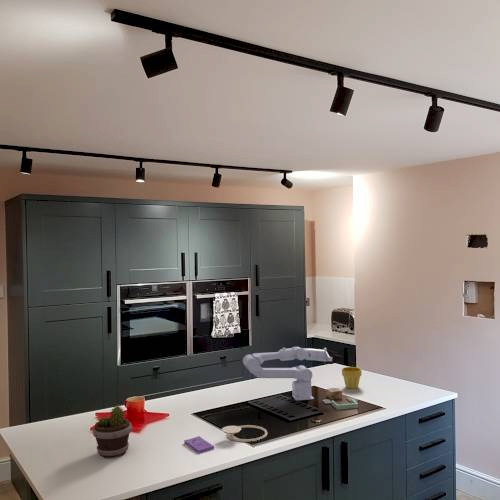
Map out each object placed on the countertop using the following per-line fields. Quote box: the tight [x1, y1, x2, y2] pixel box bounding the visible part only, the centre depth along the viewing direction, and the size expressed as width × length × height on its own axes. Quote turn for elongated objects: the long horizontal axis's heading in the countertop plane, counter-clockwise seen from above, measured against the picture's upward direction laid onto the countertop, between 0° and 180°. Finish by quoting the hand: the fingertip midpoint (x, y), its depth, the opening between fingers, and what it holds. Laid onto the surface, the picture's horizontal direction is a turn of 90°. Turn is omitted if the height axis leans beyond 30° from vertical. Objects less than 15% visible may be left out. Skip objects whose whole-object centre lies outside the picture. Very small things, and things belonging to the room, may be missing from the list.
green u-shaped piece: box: [321, 396, 359, 411], centre depth 250 cm, size 16×14×2 cm
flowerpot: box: [92, 403, 133, 459], centre depth 198 cm, size 14×15×20 cm
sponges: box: [183, 435, 215, 454], centre depth 203 cm, size 7×13×2 cm, turn 34°
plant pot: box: [341, 366, 362, 390], centre depth 278 cm, size 10×10×10 cm
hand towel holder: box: [221, 424, 268, 443], centre depth 213 cm, size 17×4×21 cm
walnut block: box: [326, 387, 343, 400], centre depth 261 cm, size 6×6×4 cm
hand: (340, 356), depth 266 cm, fingers open, 7 cm apart
